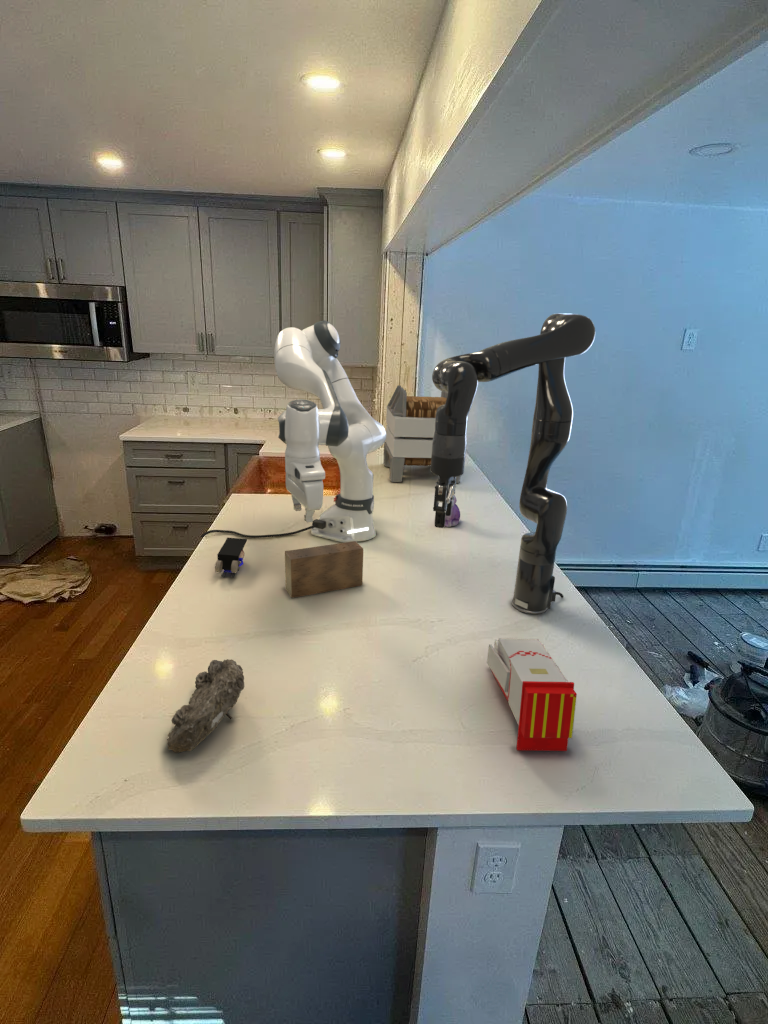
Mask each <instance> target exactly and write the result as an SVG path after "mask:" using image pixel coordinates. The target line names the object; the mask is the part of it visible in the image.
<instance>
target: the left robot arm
mask: <svg viewBox="0 0 768 1024" xmlns="http://www.w3.org/2000/svg"><path fill="white" fill-rule="evenodd" d="M273 349H274V351H273V361H274V369H275V373H276V376H277V378H278V380H279V381H280V382H281V383H282V384H283V385H285V386H286V387H288V388H290V389H292V390H297V391H301V392H305V393H309V394H312V395H314V396H316V397H317V398H318V399H319V401H320V403H321V406H322V408H318V404H316V402H314V401H312V400H309V399H300V398H299V399H294V400H291V401H289V402H288V403H287V404H286V409H285V410H284V411H282V413H280V415H278V416H277V423H278V437H277V438H278V439H279V440H280V441H281V442H282V443H283V444H285V445H286V446H285V450H284V463H285V464H284V466H285V467H284V472H285V488H286V490H287V492H289V494H290V495H291V499H292V505H293V510H294V511H296V512H300V511H302V507H304V510H305V514H304V515H303V517H304V519H303V520H304V522H305V523H306V524H312V525H310V526H307V527H304V528H302V529H298V530H295V531H290V532H285V533H273V534H260V535H259V534H258V535H253V534H245V533H244V534H243V533H240V532H237V531H234V530H229V529H228V530H227V529H210V530H207V531H205V532H204V533H203V534H202V535H200V538H204V537H206V536H207V535H208V534H213V533H222V534H233V535H236V536H239V537H241V538H245V539H264V538H265V539H266V538H277V537H278V538H279V537H288V536H293V535H296V534H300V533H303V532H306V531H309V530H310V533H311V536H315V537H319V538H323V539H326V540H330V541H336V542H338V543H345V542H352V541H356V542H357V543H358V542H365V541H368V540H372V539H373V538H375V537H376V535H377V532H376V528H375V523H374V513H373V512H374V509H375V496H374V473H373V471H372V470H371V469H370V468H369V466H368V465H369V464H368V461H367V456H368V454H371V453H374V452H376V451H377V450H379V449H380V448H381V447H382V446H384V442H386V441H385V440H386V428H385V426H384V425H383V424H382V423H381V422H380V421H378V420H376V419H375V418H374V417H373V416H372V415H370V413H369V412H368V410H367V409H366V408H365V406H364V405H363V404H362V403H361V401H360V399H359V398H358V396H357V394H356V391H355V389H354V388H353V385H352V383H351V380H350V379H349V377H348V375H347V372H346V370H345V369H344V368H343V365H342V364H341V362H340V361H339V359H338V357H339V351H340V349H341V338H340V335H339V332H338V330H337V329H336V328H335V326H334V325H333V324H332V323H331V322H330V321H327V320H325V319H324V320H320V321H317V322H314V323H313V324H312V325H310V326H308V327H305V328H304V329H299V328H298V327H294V326H292V327H291V326H290V327H285V328H283V329H282V330H281V331H279V333H278V334H277V336H276V338H275V344H274V348H273ZM319 446H327V449H328V452H329V453H330V455H331V456H332V458H334V459H335V460H336V462H337V465H338V470H339V476H340V480H339V481H340V488H339V489H340V490H339V491H338V492H337V494H336V495H335V496H334V497H333V502H334V504H333V505H331V506H329V507H328V508H326V509H325V510H323V512H321V514H320V515H319V517H318V518H315V519H314V514H315V512H316V511H320V510H321V509H322V507H323V503H324V482H323V480H325V479H326V471H325V469H324V468H323V465H322V461H321V451H320V448H319Z"/></svg>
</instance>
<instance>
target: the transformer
mask: <svg viewBox="0 0 768 1024" xmlns="http://www.w3.org/2000/svg"><path fill="white" fill-rule="evenodd" d="M440 393H441V394H440V396H415V395H414V396H413V395H412V396H411V395H407V394H408V393H407V390H406V389H404V388H403V387H402V385H399V384H398V385H397V386H396V388H395V390H394V392H393V394H392V395H391V398H390V400H389V402H388V404H387V405H386V413H385V414H386V415H385V423H386V428H385V431H386V440H385V442H384V444H383V466H384V467H388V468H389V475H388V476H389V477H388V478H389V480H390V482H391V483H402V482H403V475H404V469H405V466H406V467H407V466H411V467H412V466H413V467H415V466H416V467H417V466H418V467H431V455H432V442H433V437H434V431H435V416H436V411H437V408H438V407H439V406H441V405H445V403H446V400H447V396H448V393H446V392H443V391H440ZM459 483H461V476H459V477H456V484H459Z"/></svg>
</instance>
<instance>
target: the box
mask: <svg viewBox="0 0 768 1024" xmlns="http://www.w3.org/2000/svg"><path fill="white" fill-rule="evenodd" d="M363 571H364V547H362V546H361V544H359V543H358V541H357V542H356V541H352V542H345V543H343V542H338V543H331V544H325V545H319V546H310V547H304V548H298V549H291V550H284V576H285V577H284V581H285V582H284V584H285V585H284V586H285V587H284V588H285V590H286V592H287V593H288V595H289V596H290V598H291V599H295V598H299V597H305V596H310V595H317V594H323V593H328V592H333V591H339V590H344V589H351V588H354V587H361V586H363V578H364V577H363V576H364V575H363V574H364V572H363Z"/></svg>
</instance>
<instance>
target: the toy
mask: <svg viewBox="0 0 768 1024" xmlns="http://www.w3.org/2000/svg"><path fill="white" fill-rule="evenodd" d="M486 664H487V666H488V667H489V668H490V671H491V672H492V675H493V676H494V679H495V680H496V683H497V684H498V686H499V688H500V690H501V692H502V694H503V695H504V697H505V699H506V701H507V704H508V706H509V708H510V711H511V712H512V715H513V717H514V719H515V722H516V724H517V726H518V728H517V729H518V730H517V741H516V751H535V752H536V751H541V752H544V751H545V752H546V751H547V752H548V751H549V752H550V751H551V752H552V751H553V752H567V751H568V743H569V739H573V731H574V722H575V714H576V706H577V705H576V704H577V697H578V696H577V695H578V694H577V692H576V690H575V682H574V681H569V680H568V679H567V677H566V676H565V675H564V673H563V672H562V670H561V669H560V668H559V666H558V665H557V663H556V662H555V660H554V659H553V657H552V656H551V655H550V653H549V651H547V649H546V646H545V644H543V643H542V641H541V640H540V639H539V638H513V637H512V638H511V637H509V638H508V637H507V638H506V637H498V639H494V645H493V644H488V650H487V657H486Z"/></svg>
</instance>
